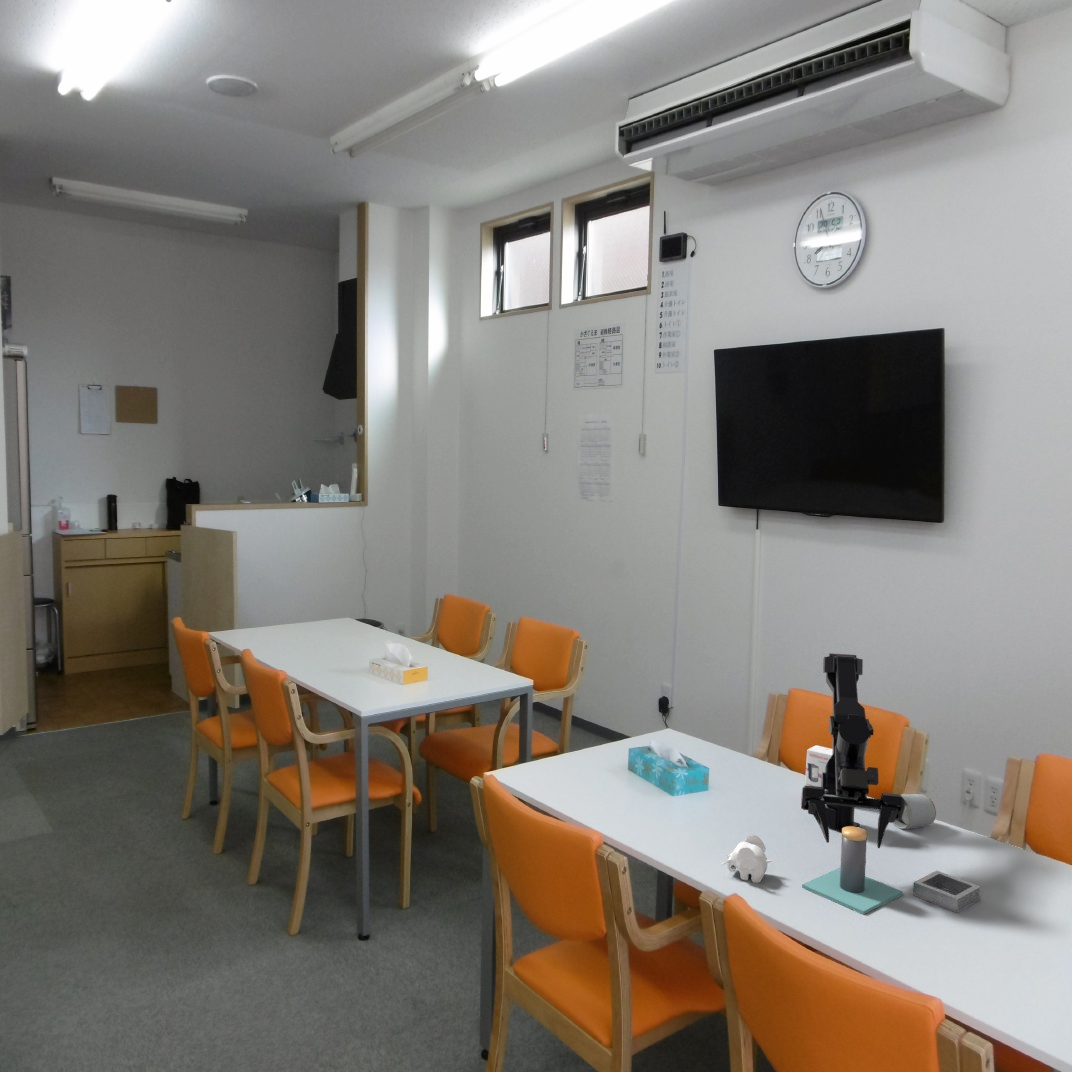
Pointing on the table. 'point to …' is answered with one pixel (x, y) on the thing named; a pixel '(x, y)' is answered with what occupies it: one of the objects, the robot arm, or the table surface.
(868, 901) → the teal mat
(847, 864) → the grey orange domed cylinder
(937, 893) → the collar
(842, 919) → the table surface
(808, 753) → the ink box
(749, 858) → the elephant figurine
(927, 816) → the ceramic mug
